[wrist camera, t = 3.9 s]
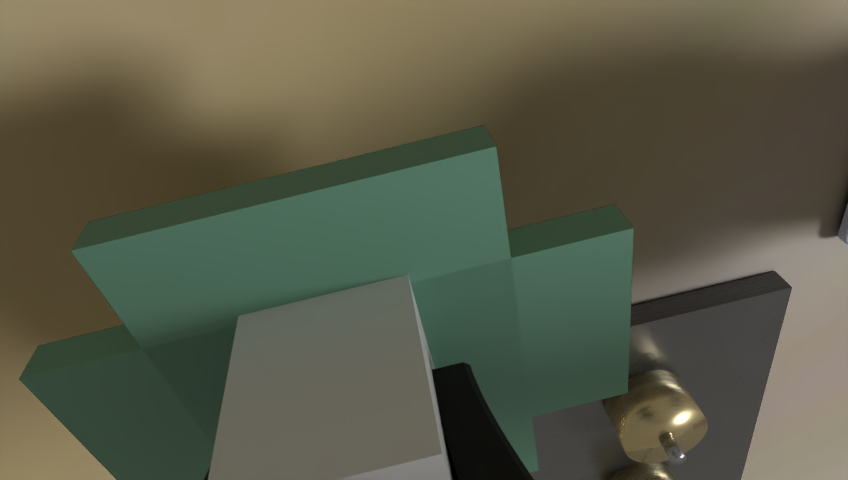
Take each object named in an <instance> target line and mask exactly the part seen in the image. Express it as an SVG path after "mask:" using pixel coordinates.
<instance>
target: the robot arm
mask: <svg viewBox="0 0 848 480" xmlns="http://www.w3.org/2000/svg"><path fill="white" fill-rule="evenodd" d="M838 236H839V238H840V239H841V240H842V241H843V242H845V243H846V244H848V204H847V207H846V210H845V213H844V217H843V220H842V223H841V226H840V230H839V234H838ZM432 373H433V379H434V385H435V391H436V396H437V402H438V407H439V413H440V418H441V424H442V427H443V431H444V434H445V437H446V441H447V444H448V448H449V451H450V454H451V458H452V461H453V465H454V468H455V471H456V475H457V478H458V480H534V479H533V477H532V476H531V474H530V473H529V471H528V470H527V468H526V467H525V465H524V464H523V462H522V461H521V459H520V458H519V456H518V455H517V453H516V452H515V450H514V449H513V447H512V446H511V444H510V442H509V441H508V439H507V438H506V436H505V434H504V433H503V431H502V429H501V428H500V426H499V424H498V423H497V421H496V419H495V417H494V415H493V414H492V412H491V410H490V408H489V407H488V405H487V403H486V401H485V399H484V397H483V395H482V393H481V391H480V389H479V386H478V384H477V382H476V379H475V377H474V375H473V372H472V369H471V366H470V365H469V364H467V363H464V362H461V363H457V364H453V365H449V366H445V367H441V368H437V369H432ZM210 466H211V465H210ZM209 471H210V467H209V470H208V472H207V474H206V476H205V478H204V480H208V476H209Z"/></svg>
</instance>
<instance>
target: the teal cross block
mask: <svg viewBox="0 0 848 480" xmlns="http://www.w3.org/2000/svg"><path fill="white" fill-rule="evenodd" d="M633 235H634V228H633V226H632V225H631V224H630V223H629V221H628V220H627V219H626V218H625V216H624V215H623V214H622V213H621V211H620V210H619V209H618V208H617V206H616V205H615V204H613V205H609V206H605V207H601V208H597V209H593V210H589V211H584V212H580V213H576V214H572V215H568V216H564V217H560V218H556V219H552V220H548V221H544V222H540V223H536V224H532V225H527V226H523V227H519V228H515V229H511V230H507V224H506V217H505V209H504V201H503V194H502V186H501V179H500V171H499V163H498V156H497V148H496V145H495V143H494V142H493V140H492V138H491V136H490V134H489V133H488V131H487V129H486V127H485V126H484V125H482V126H478V127H474V128H470V129H465V130H461V131H457V132H453V133H449V134H445V135H441V136H437V137H433V138H429V139H425V140H421V141H417V142H412V143H408V144H404V145H400V146H396V147H392V148H388V149H384V150H380V151H376V152H372V153H368V154H364V155H359V156H355V157H351V158H347V159H343V160H339V161H335V162H331V163H327V164H323V165H319V166H315V167H311V168H307V169H302V170H298V171H294V172H290V173H286V174H282V175H278V176H274V177H270V178H266V179H262V180H258V181H254V182H249V183H245V184H241V185H237V186H233V187H229V188H225V189H221V190H217V191H213V192H209V193H205V194H201V195H196V196H192V197H188V198H184V199H180V200H176V201H172V202H168V203H164V204H160V205H156V206H152V207H148V208H143V209H139V210H135V211H131V212H127V213H123V214H119V215H115V216H111V217H107V218H103V219H99V220H95V221H91V222H88V224H87V226H86V227H85V229H84V230H83V232H82V234H81V235H80V237H79V238H78V240H77V242H76V243H75V245H74V246H73V248H72V250H71V252H72V253H73V255H74V256H75V258H76V259H77V260H78V262H79V263H80V264H81V266H82V267H83V268H84V270H85V271H86V273H87V274H88V275H89V277H90V278H91V279H92V281H93V282H94V284H95V285H96V286H97V288H98V289H99V290H100V292H101V293H102V295H103V296H104V297H105V299H106V300H107V301H108V303H109V304H110V305H111V307H112V308H113V310H114V311H115V312H116V314H117V315H118V316H119V318H120V319H121V321H122V322H123V323H124V325H120V326H116V327H112V328H108V329H104V330H100V331H96V332H92V333H88V334H84V335H80V336H76V337H71V338H67V339H63V340H59V341H55V342H51V343H47V344H43V345H39V346H38V347H37V349H36V350H35V352H34V354H33V356H32V357H31V359H30V361H29V363H28V364H27V366H26V368H25V370H24V371H23V373H22V375H21V377H20V378H19V380H20V381H21V382H22V383H23V384H24V385H25V386H26V387H27V388H28V389H29V390H30V391H31V392H32V393H33V394H34V395H35V396H36V397H37V398H38V399H39V400H40V401H41V402H42V403H43V404H44V405H45V406H46V407H47V408H48V409H49V410H50V412H51V413H52V414H53V415H54V416H55V417H56V418H57V419H58V420H59V421H60V422H61V423H62V424H63V425H64V426H65V427H66V428H67V429H68V430H69V431H70V432H71V433H72V434H73V435H74V436H75V437H76V438H77V439H78V440H79V441H80V442H81V443H82V445H83V446H84V447H85V448H86V449H87V450H88V451H89V452H90V453H91V454H92V455H93V456H94V457H95V458H96V459H97V460H98V461H99V462H100V463H101V464H102V465H103V466H104V467H105V468H106V469H107V470H108V471H109V472H110V473H111V474H112V475H113V477H114V478H115V479H116V480H204V478H205V476H206V474H207V472H208V470H209V467H210V471H209V476H208V480H458V478H457V475H456V471H455V468H454V465H453V461H452V458H451V454H450V451H449V448H448V444H447V441H446V437H445V434H444V431H443V427H442V424H441V418H440V413H439V407H438V402H437V396H436V391H435V385H434V379H433V373H432V369H437V368H441V367H445V366H449V365H453V364H457V363H461V362H464V363H467V364H469V365H470V366H471V369H472V372H473V375H474V377H475V379H476V382H477V384H478V386H479V389H480V391H481V393H482V395H483V397H484V399H485V401H486V403H487V405H488V407H489V408H490V410H491V412H492V414H493V415H494V417H495V419H496V421H497V423H498V424H499V426H500V428H501V429H502V431H503V433H504V434H505V436H506V438H507V439H508V441H509V442H510V444H511V446H512V447H513V449H514V450H515V452H516V453H517V455H518V456H519V458H520V459H521V461H522V462H523V464H524V465H525V467H526V468H527V470H528V471H529V473H530V472H534V471H538V470H539V468H538V461H537V453H536V445H535V438H534V430H533V423H532V416H536V415H540V414H544V413H548V412H552V411H556V410H561V409H565V408H569V407H573V406H577V405H581V404H585V403H589V402H593V401H597V400H601V399H605V398H609V397H613V396H617V395H622V394H626V393H628V373H629V345H630V318H631V290H632V263H633ZM210 465H211V466H210Z"/></svg>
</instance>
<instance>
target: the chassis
mask: <svg viewBox="0 0 848 480" xmlns="http://www.w3.org/2000/svg"><path fill="white" fill-rule="evenodd" d="M791 290H792V287H791V286H790V285H789V284H788V283H787V282H786V281H785V280H784V279H783V278H782V277H781V276H780V275H779V274H778V273H777V272H775V271H773V272H769V273H765V274H761V275H757V276H753V277H749V278H745V279H740V280H736V281H732V282H728V283H724V284H720V285H716V286H712V287H708V288H703V289H699V290H695V291H691V292H687V293H683V294H679V295H675V296H670V297H666V298H662V299H658V300H654V301H650V302H646V303H642V304H638V305H633V306H631V318H630V345H629V373H628V393H626V394H622V395H617V396H613V397H609V398H605V399H601V400H597V401H593V402H589V403H585V404H581V405H577V406H573V407H569V408H565V409H561V410H556V411H552V412H548V413H544V414H540V415H536V416H532V423H533V430H534V438H535V445H536V453H537V461H538V468H539V470H538V471H534V472H530V474H531V476H532V477H533V479H534V480H741V477H742V473H743V469H744V466H745V462H746V458H747V454H748V451H749V447H750V443H751V439H752V436H753V432H754V428H755V424H756V421H757V417H758V413H759V410H760V406H761V402H762V398H763V395H764V391H765V387H766V383H767V380H768V376H769V372H770V368H771V365H772V361H773V357H774V353H775V350H776V346H777V342H778V338H779V335H780V331H781V327H782V323H783V320H784V316H785V312H786V308H787V305H788V301H789V297H790V293H791Z"/></svg>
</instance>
